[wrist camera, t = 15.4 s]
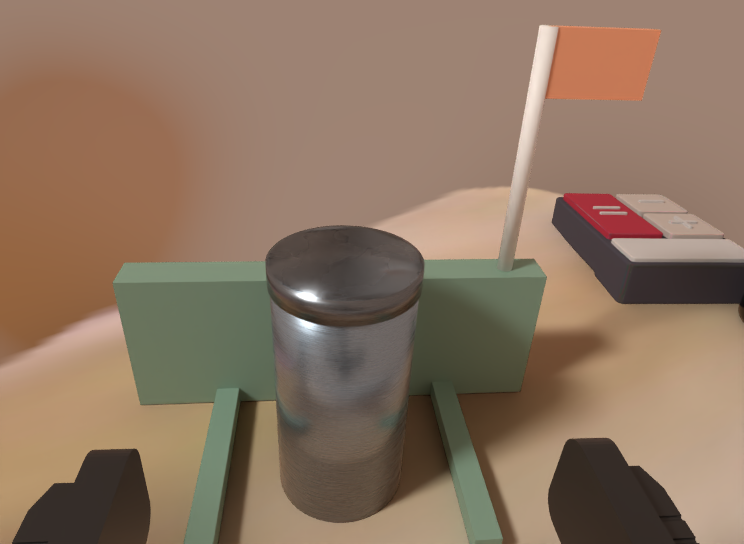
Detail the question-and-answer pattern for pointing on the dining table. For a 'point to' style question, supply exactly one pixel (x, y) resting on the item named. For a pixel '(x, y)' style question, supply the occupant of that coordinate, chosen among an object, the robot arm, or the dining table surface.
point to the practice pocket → (434, 316)
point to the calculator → (651, 249)
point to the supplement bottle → (741, 308)
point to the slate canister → (342, 365)
